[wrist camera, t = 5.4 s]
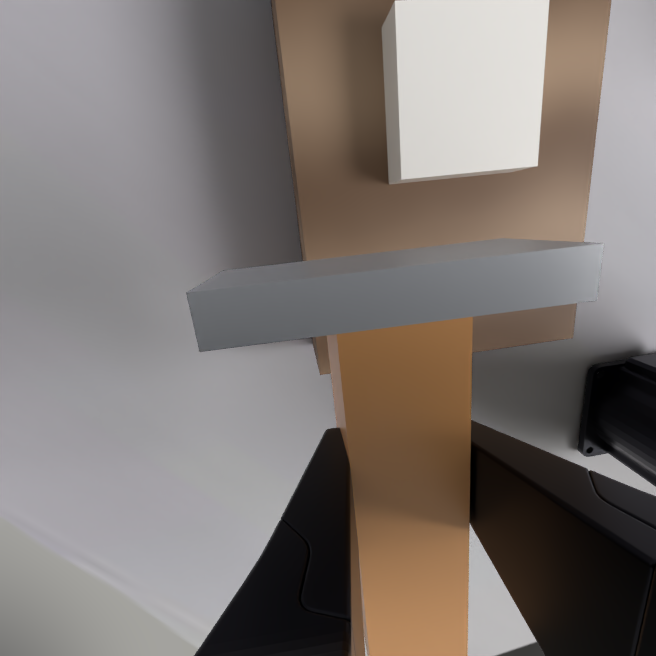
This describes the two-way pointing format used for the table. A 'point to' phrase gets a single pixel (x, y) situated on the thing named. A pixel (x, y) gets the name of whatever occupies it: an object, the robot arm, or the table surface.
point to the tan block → (434, 195)
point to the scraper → (401, 398)
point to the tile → (463, 87)
